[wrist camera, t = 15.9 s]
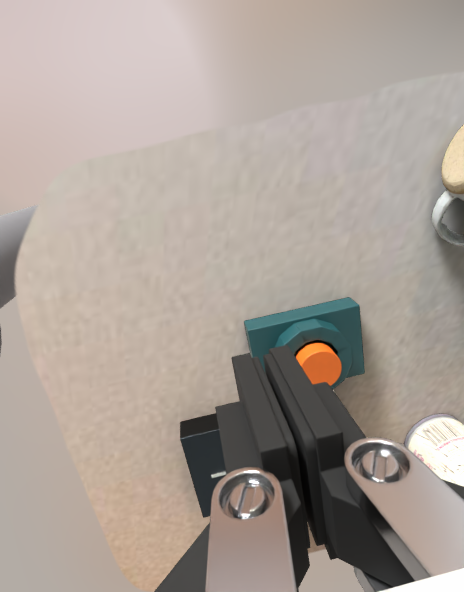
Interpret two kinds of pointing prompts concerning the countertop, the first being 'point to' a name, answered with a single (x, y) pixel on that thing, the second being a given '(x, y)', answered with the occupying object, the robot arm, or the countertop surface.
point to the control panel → (203, 457)
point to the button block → (312, 333)
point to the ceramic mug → (451, 187)
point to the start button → (319, 363)
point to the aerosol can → (439, 446)
